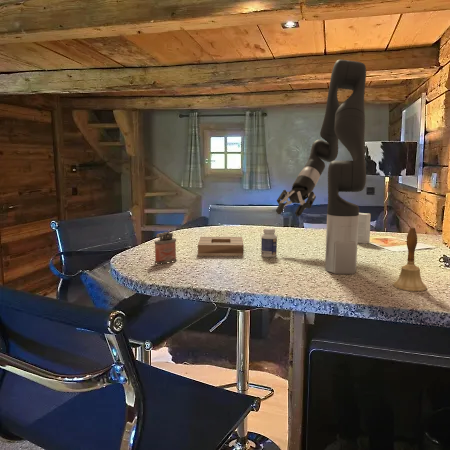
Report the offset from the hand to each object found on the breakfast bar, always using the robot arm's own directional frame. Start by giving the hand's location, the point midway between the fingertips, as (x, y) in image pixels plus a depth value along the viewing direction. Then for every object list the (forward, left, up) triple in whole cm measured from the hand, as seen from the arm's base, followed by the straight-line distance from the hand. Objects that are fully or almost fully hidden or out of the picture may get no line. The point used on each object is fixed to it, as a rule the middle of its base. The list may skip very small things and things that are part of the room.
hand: (287, 214), depth 156 cm
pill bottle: (-7, +7, -14) cm, 17 cm away
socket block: (0, +24, -14) cm, 28 cm away
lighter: (-17, +42, -14) cm, 48 cm away
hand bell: (-44, -27, -14) cm, 54 cm away
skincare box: (+18, -33, -14) cm, 40 cm away
